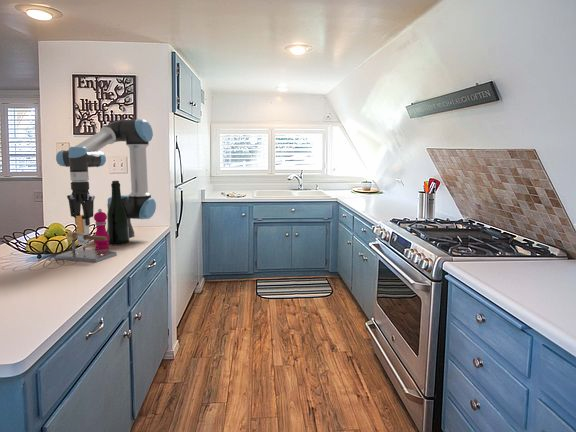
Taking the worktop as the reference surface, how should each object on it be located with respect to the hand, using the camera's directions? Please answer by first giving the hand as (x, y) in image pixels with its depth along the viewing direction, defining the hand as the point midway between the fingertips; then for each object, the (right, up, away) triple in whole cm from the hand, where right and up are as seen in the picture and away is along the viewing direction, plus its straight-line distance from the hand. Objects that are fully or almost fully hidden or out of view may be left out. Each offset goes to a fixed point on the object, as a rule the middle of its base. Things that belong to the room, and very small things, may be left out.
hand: (83, 232), depth 212 cm
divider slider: (0, -9, +1) cm, 9 cm away
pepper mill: (+1, -9, +19) cm, 21 cm away
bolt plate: (+1, -12, +1) cm, 12 cm away
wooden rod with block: (+2, -10, +1) cm, 10 cm away
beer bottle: (+5, -7, +31) cm, 32 cm away
